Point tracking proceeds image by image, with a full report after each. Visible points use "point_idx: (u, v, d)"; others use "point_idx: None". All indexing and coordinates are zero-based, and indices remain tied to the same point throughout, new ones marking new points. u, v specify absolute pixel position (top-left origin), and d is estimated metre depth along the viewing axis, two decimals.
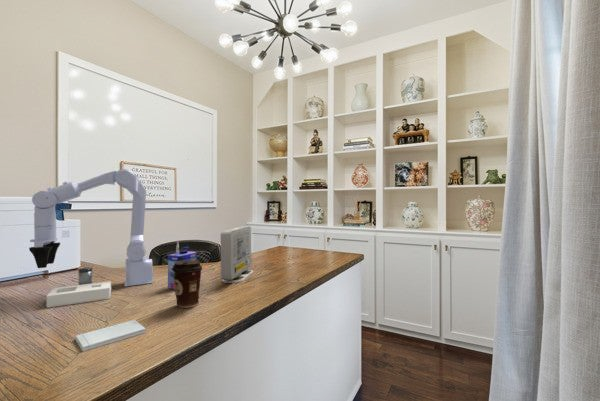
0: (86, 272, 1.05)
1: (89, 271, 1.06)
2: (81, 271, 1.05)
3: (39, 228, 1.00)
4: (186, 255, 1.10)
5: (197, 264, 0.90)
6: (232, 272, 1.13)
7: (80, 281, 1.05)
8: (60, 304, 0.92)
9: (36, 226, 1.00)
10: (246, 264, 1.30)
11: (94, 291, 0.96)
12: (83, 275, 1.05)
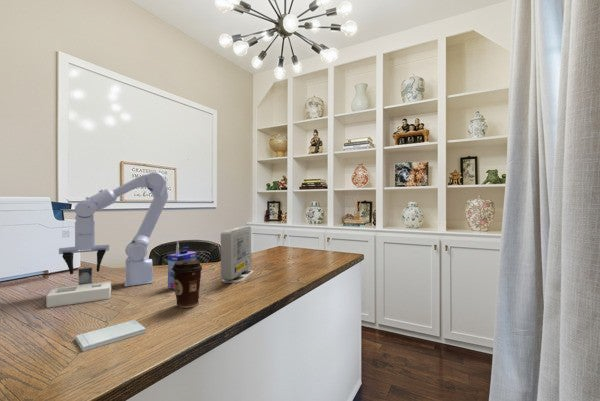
0: (86, 272, 1.05)
1: (89, 271, 1.06)
2: (81, 271, 1.05)
3: None
4: (186, 255, 1.10)
5: (197, 264, 0.90)
6: (232, 272, 1.13)
7: (80, 281, 1.05)
8: (60, 304, 0.92)
9: None
10: (246, 264, 1.30)
11: (94, 291, 0.96)
12: (83, 275, 1.05)
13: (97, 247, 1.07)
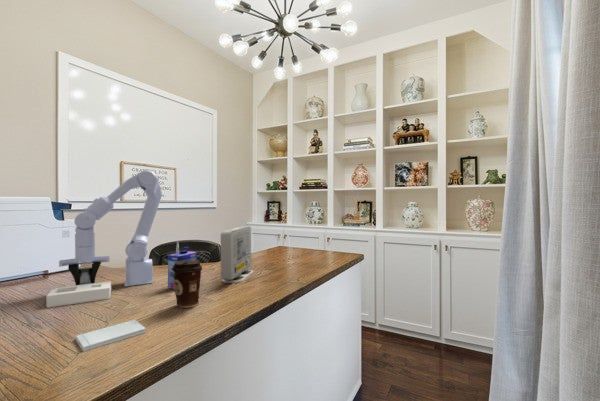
0: (86, 272, 1.05)
1: (89, 271, 1.06)
2: (81, 271, 1.05)
3: None
4: (186, 255, 1.10)
5: (197, 264, 0.90)
6: (232, 272, 1.13)
7: (80, 281, 1.05)
8: (60, 304, 0.92)
9: None
10: (246, 264, 1.30)
11: (94, 291, 0.96)
12: (83, 275, 1.05)
13: (97, 259, 1.07)
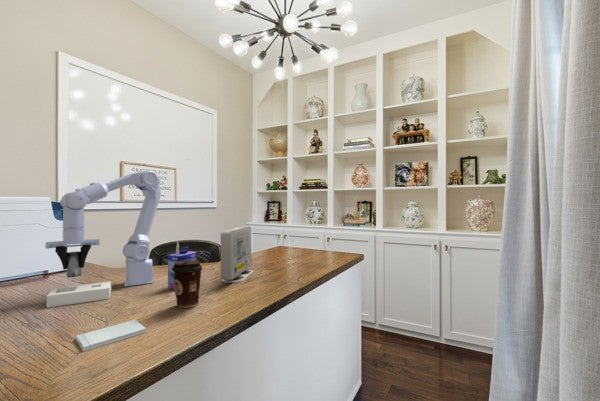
0: (74, 256, 0.99)
1: (78, 255, 1.00)
2: (69, 254, 0.99)
3: None
4: (186, 255, 1.10)
5: (197, 264, 0.90)
6: (232, 272, 1.13)
7: (68, 265, 0.99)
8: (60, 304, 0.92)
9: None
10: (246, 264, 1.30)
11: (94, 291, 0.96)
12: (71, 259, 0.99)
13: (87, 241, 1.01)
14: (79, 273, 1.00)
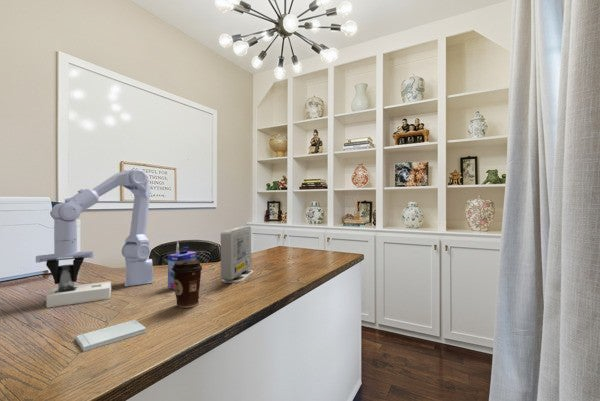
0: (66, 269, 0.95)
1: (70, 268, 0.96)
2: (61, 268, 0.95)
3: None
4: (186, 255, 1.10)
5: (197, 264, 0.90)
6: (232, 272, 1.13)
7: (60, 279, 0.95)
8: (60, 304, 0.92)
9: None
10: (246, 264, 1.30)
11: (94, 291, 0.96)
12: (63, 272, 0.95)
13: (79, 254, 0.97)
14: (71, 287, 0.96)
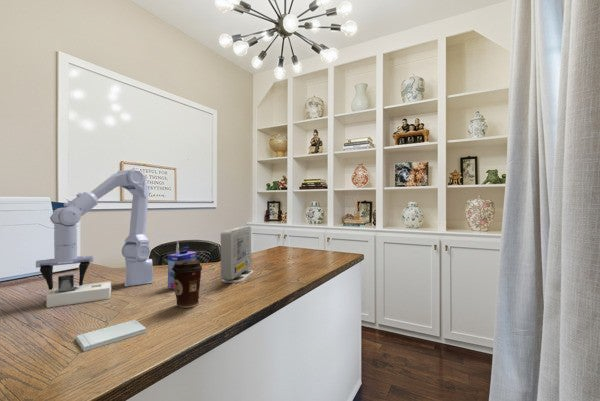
0: (66, 280, 0.95)
1: (70, 279, 0.96)
2: (61, 279, 0.94)
3: None
4: (186, 255, 1.10)
5: (197, 264, 0.90)
6: (232, 272, 1.13)
7: (60, 290, 0.94)
8: (60, 304, 0.92)
9: None
10: (246, 264, 1.30)
11: (94, 291, 0.96)
12: (63, 283, 0.95)
13: (79, 259, 0.97)
14: None
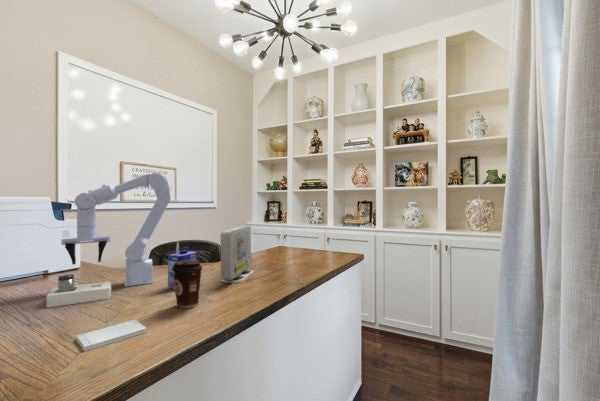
0: (66, 280, 0.95)
1: (70, 279, 0.96)
2: (61, 279, 0.94)
3: None
4: (186, 255, 1.10)
5: (197, 264, 0.90)
6: (232, 272, 1.13)
7: (60, 290, 0.94)
8: (60, 304, 0.92)
9: None
10: (246, 264, 1.30)
11: (94, 291, 0.96)
12: (63, 283, 0.95)
13: (98, 238, 1.11)
14: None
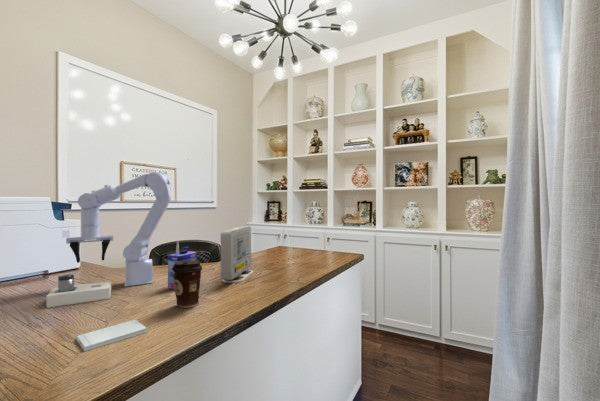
0: (66, 280, 0.95)
1: (70, 279, 0.96)
2: (61, 279, 0.94)
3: None
4: (186, 255, 1.10)
5: (197, 264, 0.90)
6: (232, 272, 1.13)
7: (60, 290, 0.94)
8: (60, 304, 0.92)
9: None
10: (246, 264, 1.30)
11: (94, 291, 0.96)
12: (63, 283, 0.95)
13: (102, 237, 1.14)
14: None
